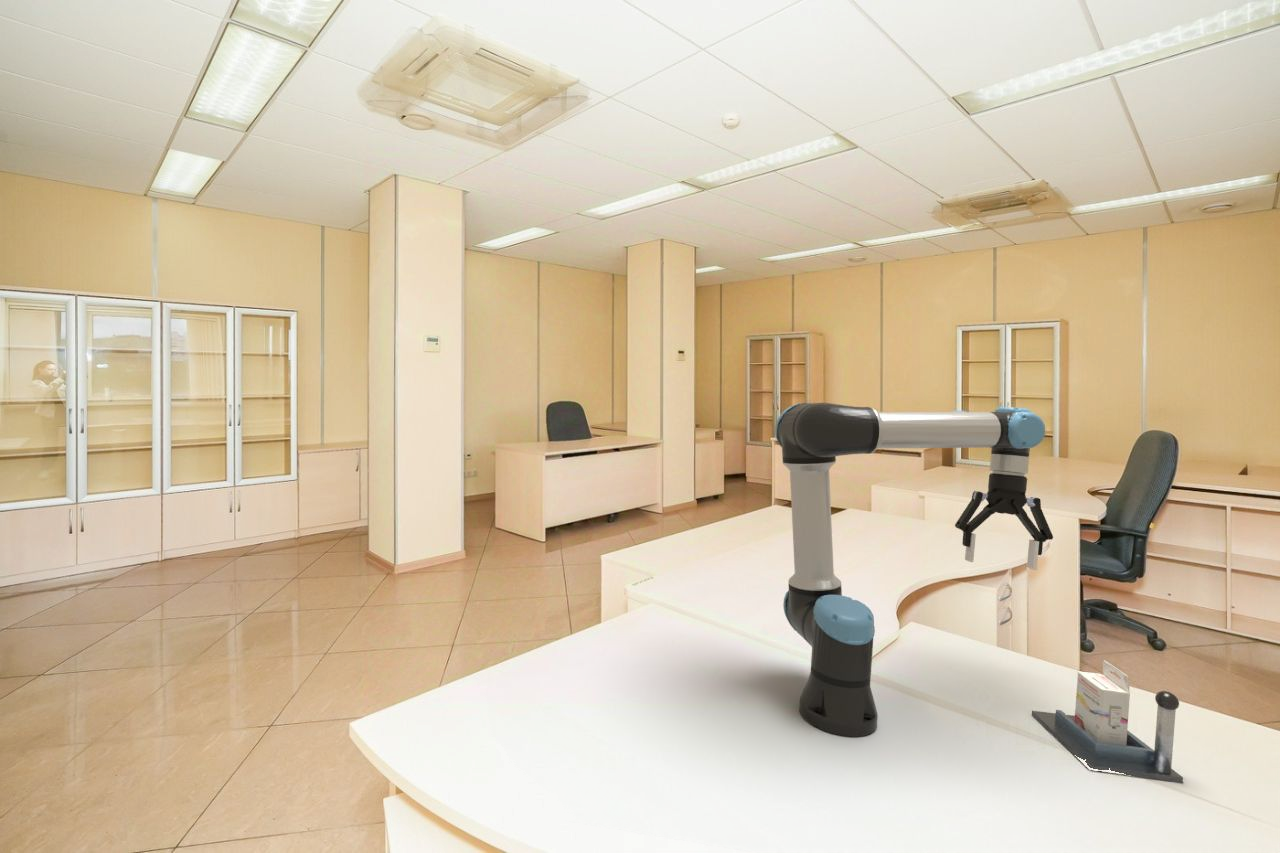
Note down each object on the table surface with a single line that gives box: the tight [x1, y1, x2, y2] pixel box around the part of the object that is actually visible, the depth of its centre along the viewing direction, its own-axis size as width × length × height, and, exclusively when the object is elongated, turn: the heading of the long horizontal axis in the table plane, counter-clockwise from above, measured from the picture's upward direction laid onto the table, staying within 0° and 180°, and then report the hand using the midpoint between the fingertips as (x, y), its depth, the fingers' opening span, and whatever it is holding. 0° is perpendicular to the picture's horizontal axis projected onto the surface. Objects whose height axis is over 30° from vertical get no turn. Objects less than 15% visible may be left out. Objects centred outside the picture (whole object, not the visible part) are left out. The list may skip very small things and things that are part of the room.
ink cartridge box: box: [1074, 659, 1131, 746], centre depth 113 cm, size 9×5×15 cm, turn 171°
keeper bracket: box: [1031, 690, 1184, 784], centre depth 113 cm, size 15×20×15 cm
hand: (1000, 565), depth 134 cm, fingers open, 13 cm apart
